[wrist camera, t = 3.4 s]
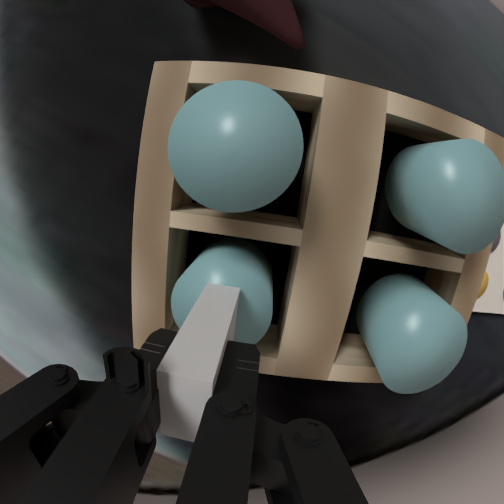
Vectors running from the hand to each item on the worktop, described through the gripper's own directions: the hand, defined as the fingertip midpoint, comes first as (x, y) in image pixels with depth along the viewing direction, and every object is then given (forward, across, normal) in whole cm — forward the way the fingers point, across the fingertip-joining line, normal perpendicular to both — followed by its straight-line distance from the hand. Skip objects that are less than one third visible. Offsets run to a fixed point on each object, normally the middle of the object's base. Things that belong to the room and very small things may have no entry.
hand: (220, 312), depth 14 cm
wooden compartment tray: (+6, +5, +4) cm, 8 cm away
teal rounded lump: (+5, 0, 0) cm, 5 cm away
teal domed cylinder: (+3, +10, 0) cm, 10 cm away
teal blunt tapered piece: (+3, +10, +7) cm, 12 cm away
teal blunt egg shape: (+3, 0, +7) cm, 8 cm away
